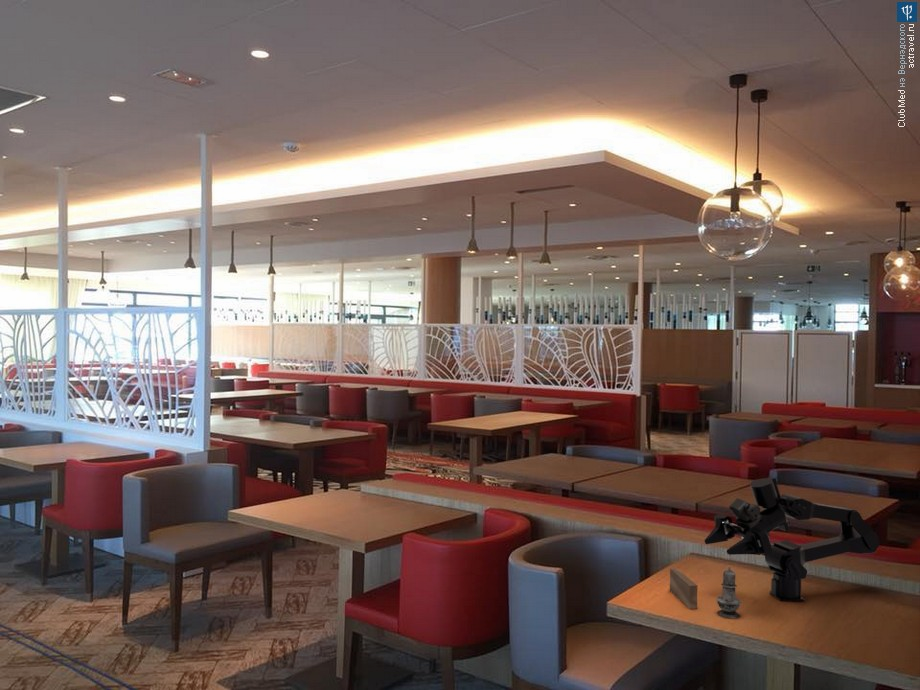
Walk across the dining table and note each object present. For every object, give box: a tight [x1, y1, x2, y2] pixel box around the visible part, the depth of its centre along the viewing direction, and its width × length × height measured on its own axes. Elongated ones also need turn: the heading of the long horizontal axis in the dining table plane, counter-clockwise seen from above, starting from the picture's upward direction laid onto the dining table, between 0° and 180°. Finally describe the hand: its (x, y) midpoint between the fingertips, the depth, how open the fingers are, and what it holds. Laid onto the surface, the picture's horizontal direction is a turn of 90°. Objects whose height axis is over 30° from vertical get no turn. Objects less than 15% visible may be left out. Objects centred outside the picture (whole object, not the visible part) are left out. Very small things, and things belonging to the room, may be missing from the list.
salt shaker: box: [716, 566, 742, 619], centre depth 195 cm, size 6×6×12 cm
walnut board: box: [669, 568, 698, 610], centre depth 205 cm, size 2×14×6 cm, turn 5°
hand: (715, 547), depth 201 cm, fingers open, 9 cm apart
